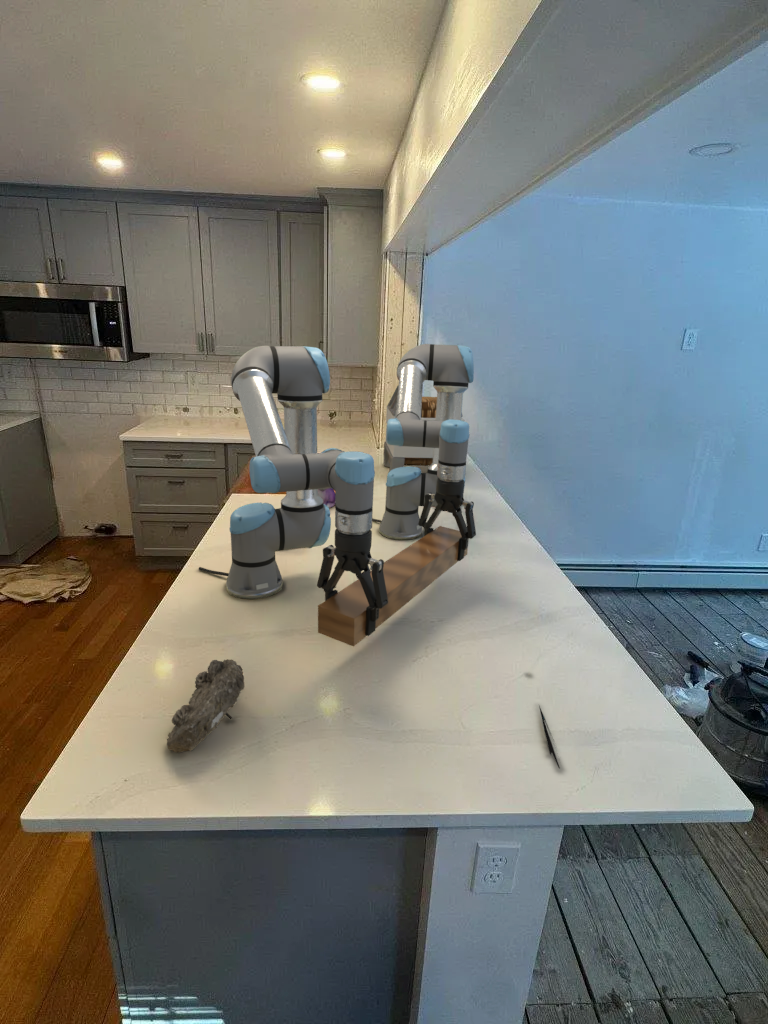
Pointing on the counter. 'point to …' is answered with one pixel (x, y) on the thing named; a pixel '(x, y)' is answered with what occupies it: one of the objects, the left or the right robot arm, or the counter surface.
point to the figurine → (327, 496)
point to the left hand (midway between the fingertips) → (350, 625)
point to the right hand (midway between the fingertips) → (444, 554)
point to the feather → (548, 737)
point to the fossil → (206, 705)
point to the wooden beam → (390, 585)
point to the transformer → (405, 454)
